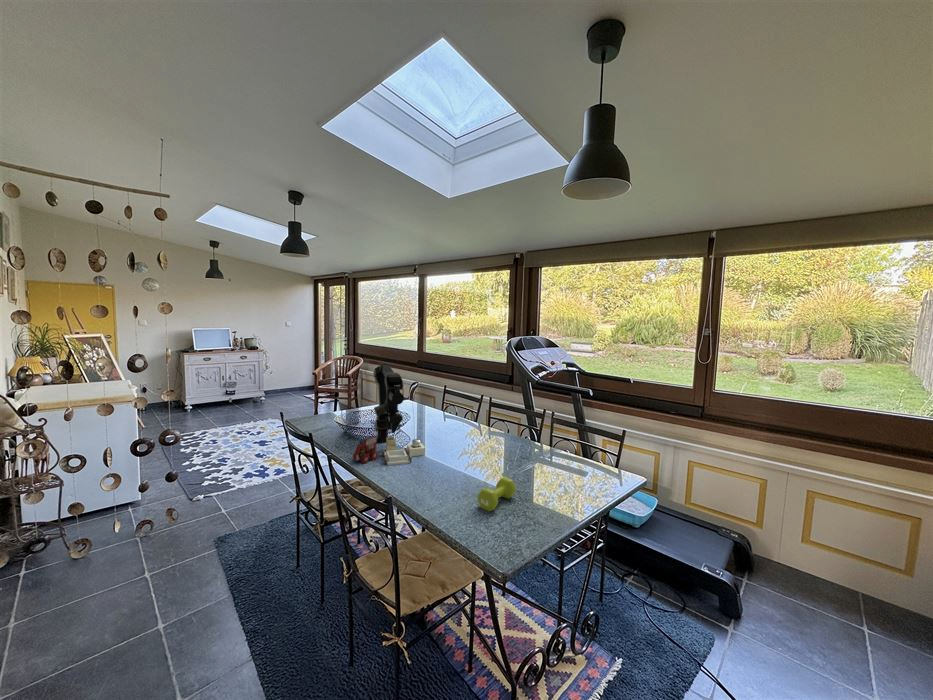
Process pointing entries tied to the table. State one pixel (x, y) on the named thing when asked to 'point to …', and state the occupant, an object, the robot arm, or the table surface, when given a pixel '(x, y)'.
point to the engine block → (390, 443)
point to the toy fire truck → (366, 450)
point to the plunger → (415, 443)
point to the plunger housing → (416, 450)
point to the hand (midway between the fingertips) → (390, 430)
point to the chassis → (396, 457)
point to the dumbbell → (496, 494)
